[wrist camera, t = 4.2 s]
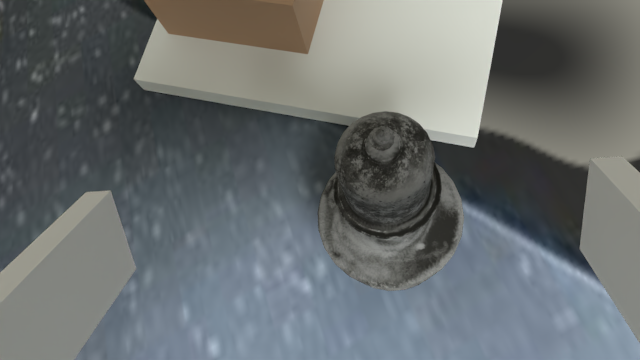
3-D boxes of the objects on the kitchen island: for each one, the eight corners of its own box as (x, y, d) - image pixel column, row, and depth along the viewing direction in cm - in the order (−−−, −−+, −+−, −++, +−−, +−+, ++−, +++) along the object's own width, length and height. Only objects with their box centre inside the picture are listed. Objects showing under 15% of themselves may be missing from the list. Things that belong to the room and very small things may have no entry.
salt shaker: (318, 189, 26) (253, 61, 14) (436, 162, 25) (465, 8, 14) (342, 309, 24) (288, 270, 12) (470, 282, 23) (535, 217, 12)
